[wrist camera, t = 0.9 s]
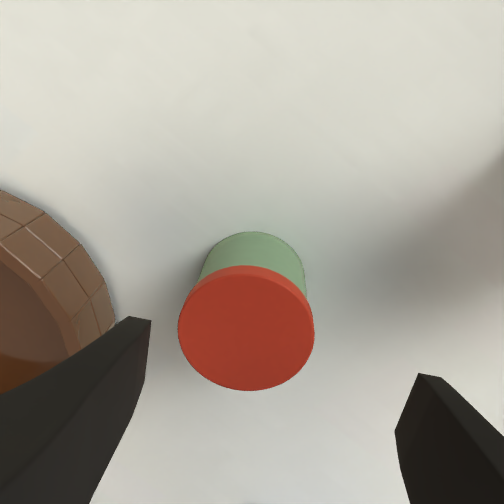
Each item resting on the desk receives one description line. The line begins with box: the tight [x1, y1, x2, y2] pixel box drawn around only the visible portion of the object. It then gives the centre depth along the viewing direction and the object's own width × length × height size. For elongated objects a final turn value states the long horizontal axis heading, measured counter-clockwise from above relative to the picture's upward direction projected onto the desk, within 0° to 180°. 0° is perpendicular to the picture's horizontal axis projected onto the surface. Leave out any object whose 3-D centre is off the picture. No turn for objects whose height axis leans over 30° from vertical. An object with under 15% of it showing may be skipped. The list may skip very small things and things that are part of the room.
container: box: [178, 232, 315, 391], centre depth 18 cm, size 5×5×5 cm
